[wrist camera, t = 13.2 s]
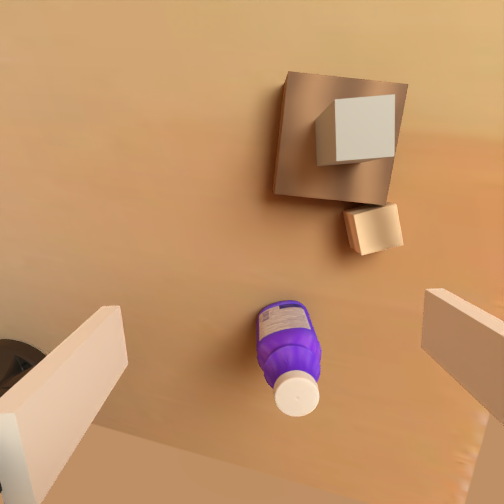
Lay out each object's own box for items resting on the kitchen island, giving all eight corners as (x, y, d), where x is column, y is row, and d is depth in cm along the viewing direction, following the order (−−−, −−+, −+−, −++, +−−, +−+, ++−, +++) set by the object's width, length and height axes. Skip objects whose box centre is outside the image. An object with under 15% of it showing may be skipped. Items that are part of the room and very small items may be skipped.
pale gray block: (316, 166, 37) (336, 161, 29) (315, 119, 36) (334, 99, 28) (361, 162, 37) (394, 156, 29) (360, 115, 36) (394, 94, 28)
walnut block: (272, 191, 43) (274, 194, 38) (284, 84, 40) (288, 71, 35) (370, 201, 43) (385, 205, 39) (389, 95, 40) (408, 84, 36)
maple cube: (349, 246, 44) (361, 255, 39) (342, 210, 43) (353, 215, 38) (386, 237, 44) (403, 244, 39) (380, 200, 43) (396, 203, 38)
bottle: (262, 341, 47) (267, 433, 30) (251, 305, 46) (251, 380, 29) (311, 329, 47) (344, 416, 30) (302, 292, 46) (331, 361, 29)
